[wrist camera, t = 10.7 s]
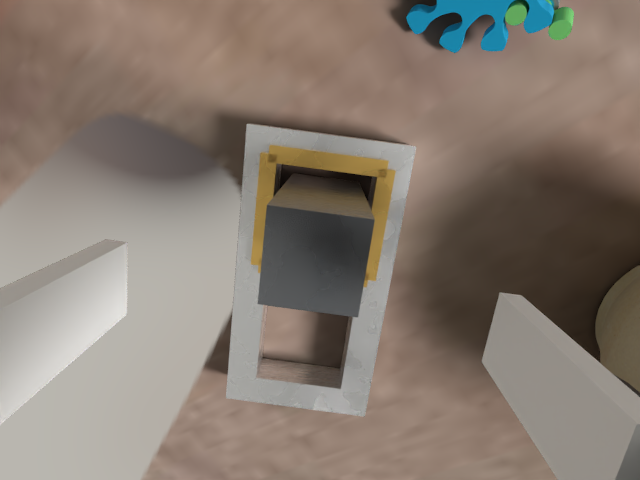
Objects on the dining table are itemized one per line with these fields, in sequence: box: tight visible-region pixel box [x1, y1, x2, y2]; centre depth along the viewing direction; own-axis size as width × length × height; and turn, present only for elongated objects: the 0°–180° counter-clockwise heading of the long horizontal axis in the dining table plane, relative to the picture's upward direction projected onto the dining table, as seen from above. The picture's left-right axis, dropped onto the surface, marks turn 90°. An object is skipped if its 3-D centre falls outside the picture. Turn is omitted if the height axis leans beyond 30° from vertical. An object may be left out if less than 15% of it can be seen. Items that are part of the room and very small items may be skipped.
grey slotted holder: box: [226, 124, 416, 417], centre depth 27 cm, size 19×10×3 cm, turn 173°
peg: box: [258, 173, 375, 317], centre depth 22 cm, size 4×4×11 cm
